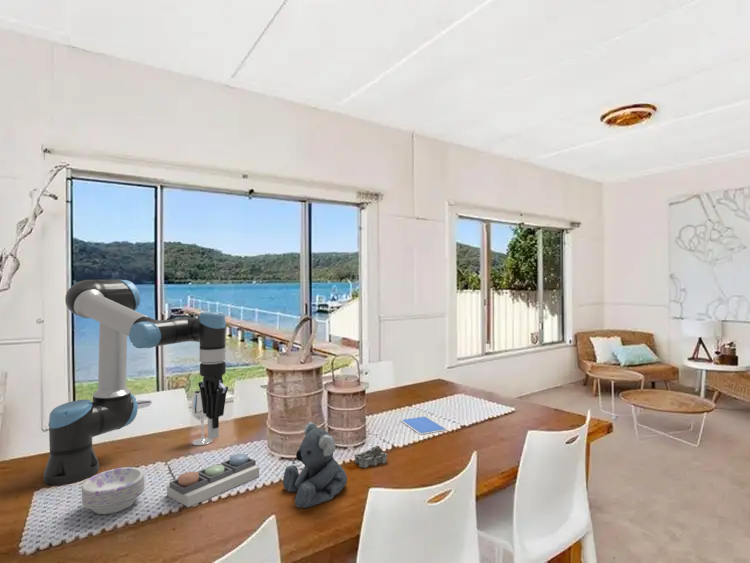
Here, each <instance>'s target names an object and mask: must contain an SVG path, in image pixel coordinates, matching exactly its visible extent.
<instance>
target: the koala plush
mask: <svg viewBox="0 0 750 563" xmlns="http://www.w3.org/2000/svg"><path fill="white" fill-rule="evenodd" d="M303 431H304V437H303V439H302V441H301V444H300V446H299V448H298V450H297V451H296V454H295V459H297V461H299V462H301V463H302V464H303V465H304V467H303V468H302V469H301V471H300V473H299V469H298V467H297V466H296V465H295V464H291V465H287V466H285V469H284V473H283V479H282V486H283V488H284V489H285V491H287V492H289V493H296V496H295V498H294V504H295V506H296V507H297V508H298V509H300V508H302V509H306V508H312V507H314V506H318V505H319V504H322V503H323V502H330V501H331V500H333V499H334V498H335V496H337V495H338V494H339V493H340V492H342V491H343V489H344V488H345V487H346V485H347V482H348V477H347V474H346V471H345V469H344V468H343V466H341V465H340V463H339V462H337V461H336V459H334V453H335V451H336V443H335V439H334V436H332V435H331V434H329V432H327V431H326V430H325V429H323V428H318V426H317V425H316V424H315V423H313V422H312V421H309V422H308V423H306V424H305V425H304V429H303Z"/></svg>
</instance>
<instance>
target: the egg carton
mask: <svg viewBox="0 0 750 563" xmlns="http://www.w3.org/2000/svg"><path fill="white" fill-rule="evenodd" d="M353 456H354V463H355V465H356V464H359V465H358V466H359V468H365V469H366V468H368V467H369V466H377V465H378V464H386V462H387V460H388V456H389V454H388V453H386V451H384V450H383V448H381V447H380V445H375V446H373V447H371V449H367V450H365V451H362V452H359V453H356V454H353Z"/></svg>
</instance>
